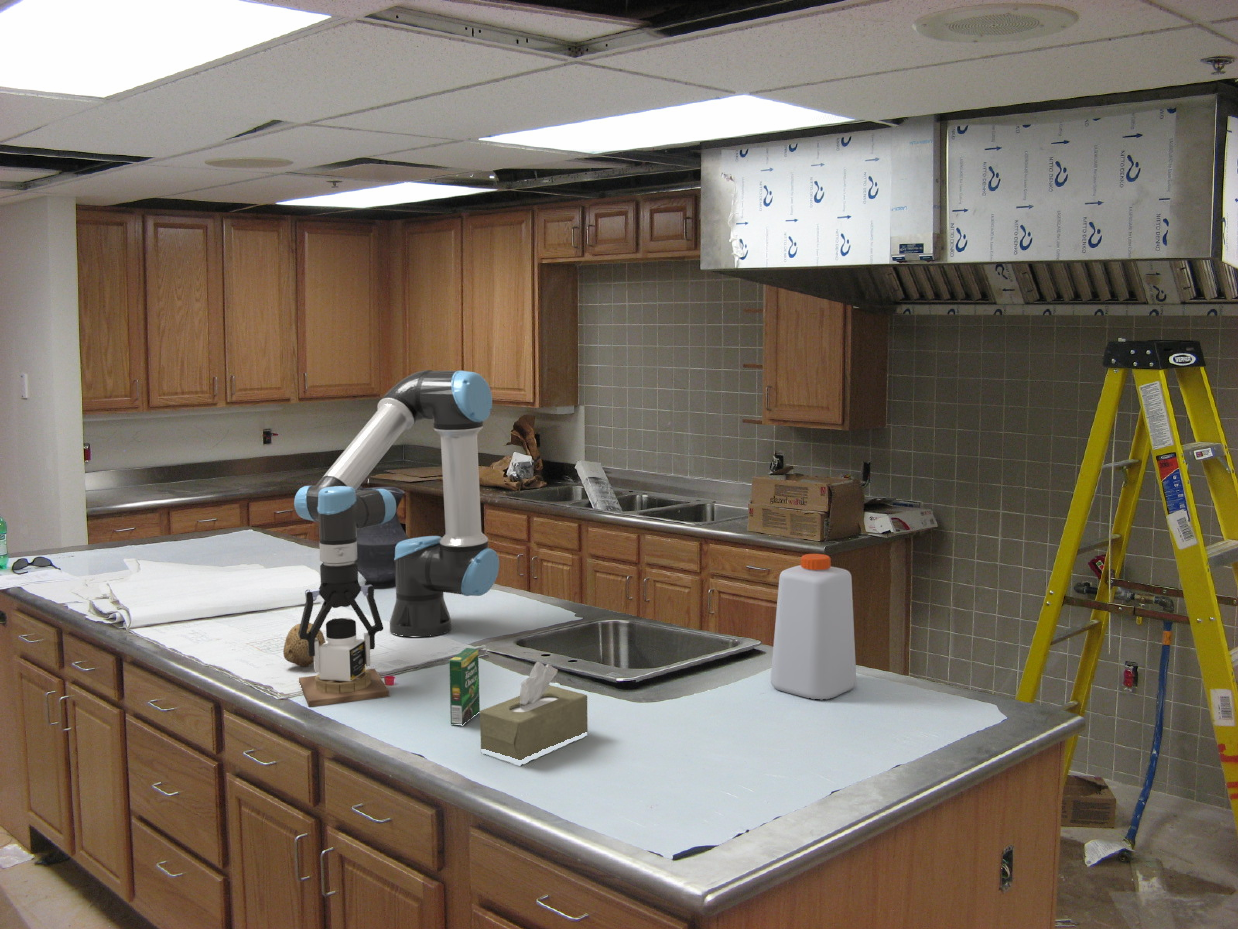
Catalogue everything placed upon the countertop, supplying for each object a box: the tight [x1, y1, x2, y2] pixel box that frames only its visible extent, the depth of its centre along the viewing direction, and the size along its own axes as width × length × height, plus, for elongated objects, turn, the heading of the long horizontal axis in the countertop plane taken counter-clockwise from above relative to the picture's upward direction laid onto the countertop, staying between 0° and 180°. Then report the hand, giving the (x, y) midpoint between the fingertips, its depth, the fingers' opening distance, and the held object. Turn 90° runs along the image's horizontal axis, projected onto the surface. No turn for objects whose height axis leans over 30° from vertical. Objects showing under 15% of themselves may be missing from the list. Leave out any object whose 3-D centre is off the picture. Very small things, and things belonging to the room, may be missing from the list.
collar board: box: [298, 668, 390, 708], centre depth 231 cm, size 16×16×3 cm
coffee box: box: [448, 647, 481, 725], centre depth 213 cm, size 8×3×13 cm, turn 163°
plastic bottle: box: [770, 553, 857, 701], centre depth 230 cm, size 15×15×28 cm
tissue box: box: [479, 661, 589, 760], centre depth 200 cm, size 19×10×16 cm, turn 141°
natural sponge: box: [283, 622, 326, 668], centre depth 246 cm, size 9×9×10 cm
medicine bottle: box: [318, 617, 366, 682], centre depth 230 cm, size 7×7×12 cm
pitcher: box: [355, 485, 410, 590], centre depth 321 cm, size 17×21×30 cm
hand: (342, 667), depth 230 cm, fingers closed on medicine bottle, 10 cm apart
